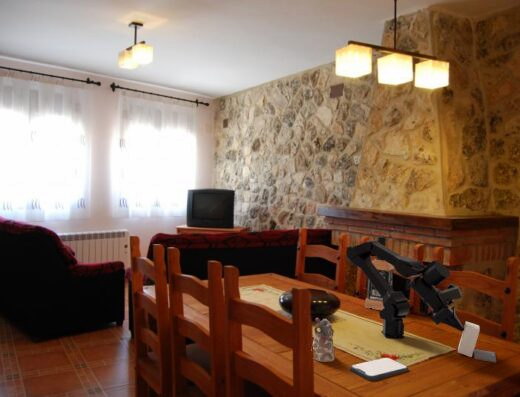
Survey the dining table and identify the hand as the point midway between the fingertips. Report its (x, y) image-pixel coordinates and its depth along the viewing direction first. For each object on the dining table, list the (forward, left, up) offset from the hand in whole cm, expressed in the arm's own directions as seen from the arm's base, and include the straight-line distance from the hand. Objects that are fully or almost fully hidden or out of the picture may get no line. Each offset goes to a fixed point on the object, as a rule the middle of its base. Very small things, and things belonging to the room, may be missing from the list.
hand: (463, 330), depth 138 cm
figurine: (-46, -8, -7) cm, 48 cm away
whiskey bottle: (-13, +53, -7) cm, 55 cm away
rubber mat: (+6, -3, -7) cm, 10 cm away
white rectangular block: (+1, 0, -7) cm, 7 cm away
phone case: (-31, -16, -8) cm, 36 cm away
